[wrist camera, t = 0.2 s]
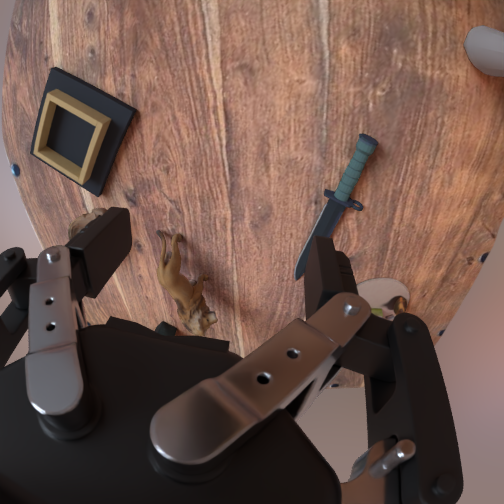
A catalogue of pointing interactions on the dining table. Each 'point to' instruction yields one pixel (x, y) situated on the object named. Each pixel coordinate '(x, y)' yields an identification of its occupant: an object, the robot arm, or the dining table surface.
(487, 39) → the salt shaker
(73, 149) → the pad
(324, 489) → the robot arm
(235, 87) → the dining table surface
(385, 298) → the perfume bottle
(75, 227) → the oil lamp
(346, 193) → the knife
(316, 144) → the dining table surface
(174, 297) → the lion figurine
